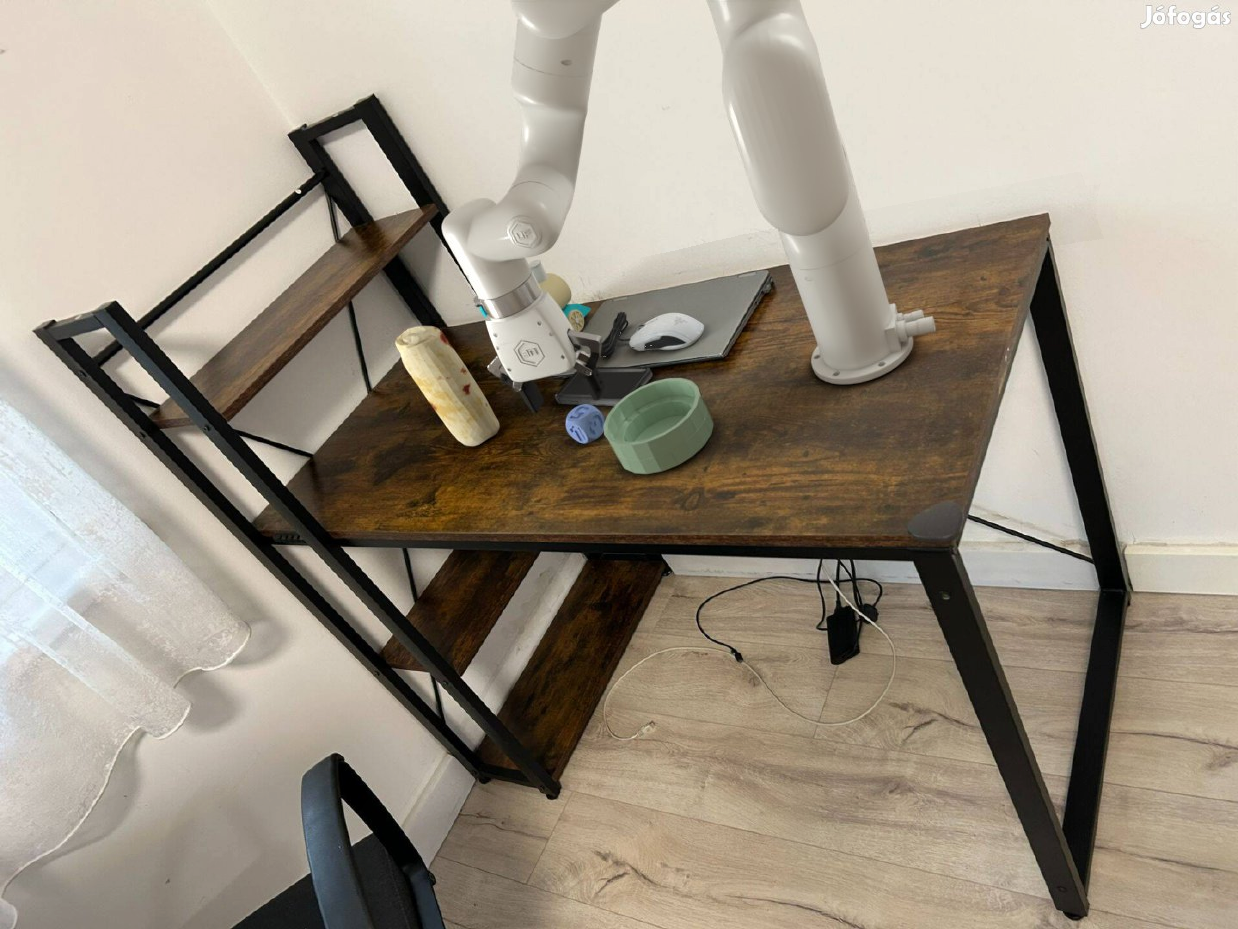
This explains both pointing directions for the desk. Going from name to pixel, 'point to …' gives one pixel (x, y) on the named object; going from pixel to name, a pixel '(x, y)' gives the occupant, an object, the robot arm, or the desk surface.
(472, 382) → the food model
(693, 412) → the bowl
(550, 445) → the desk surface
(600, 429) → the decorative dice
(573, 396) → the phone
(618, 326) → the computer mouse
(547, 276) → the toy train
